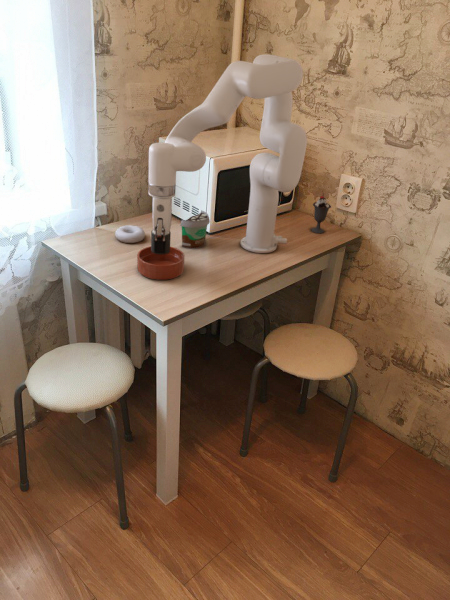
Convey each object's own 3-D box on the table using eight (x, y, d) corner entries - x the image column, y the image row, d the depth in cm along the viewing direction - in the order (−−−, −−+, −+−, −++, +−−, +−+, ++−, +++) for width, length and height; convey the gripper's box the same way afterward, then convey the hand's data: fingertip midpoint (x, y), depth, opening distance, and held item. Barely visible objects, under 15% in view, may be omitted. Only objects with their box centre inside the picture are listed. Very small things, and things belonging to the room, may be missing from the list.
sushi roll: (170, 247, 156) (171, 228, 152) (169, 255, 151) (170, 235, 148) (151, 246, 155) (152, 226, 152) (150, 254, 150) (150, 234, 147)
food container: (194, 253, 168) (196, 224, 163) (179, 248, 171) (180, 219, 166) (215, 241, 178) (217, 214, 173) (200, 236, 180) (202, 209, 175)
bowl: (184, 261, 163) (185, 246, 160) (183, 282, 151) (183, 267, 148) (140, 258, 162) (140, 244, 159) (135, 279, 150) (134, 264, 147)
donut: (112, 243, 170) (142, 245, 170) (111, 234, 168) (142, 236, 168) (118, 232, 179) (147, 233, 179) (118, 222, 177) (147, 224, 177)
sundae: (315, 225, 198) (322, 188, 190) (329, 231, 194) (337, 193, 186) (304, 229, 194) (311, 191, 186) (318, 235, 190) (326, 196, 182)
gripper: (173, 200, 136) (171, 261, 145) (176, 180, 151) (174, 237, 160) (145, 198, 136) (145, 259, 145) (151, 178, 151) (150, 235, 160)
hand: (160, 247), depth 152 cm, fingers closed on sushi roll, 5 cm apart
